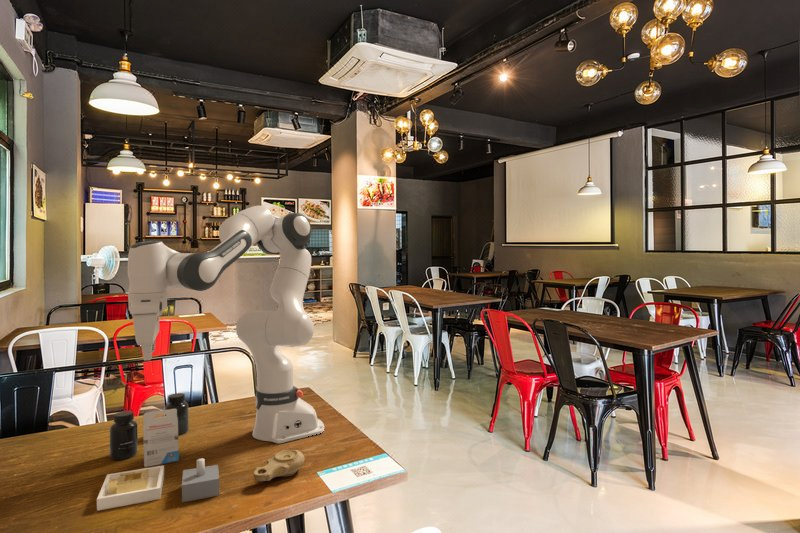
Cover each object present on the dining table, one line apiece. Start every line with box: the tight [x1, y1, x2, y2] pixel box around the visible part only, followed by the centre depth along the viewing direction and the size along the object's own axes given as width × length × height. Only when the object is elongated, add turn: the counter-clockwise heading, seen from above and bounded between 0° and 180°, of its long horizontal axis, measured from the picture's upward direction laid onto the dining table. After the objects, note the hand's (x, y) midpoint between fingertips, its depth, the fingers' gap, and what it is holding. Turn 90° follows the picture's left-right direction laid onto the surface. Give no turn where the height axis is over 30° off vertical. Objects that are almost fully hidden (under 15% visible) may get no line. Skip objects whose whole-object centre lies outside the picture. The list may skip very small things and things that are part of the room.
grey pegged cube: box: [181, 457, 220, 503], centre depth 112 cm, size 8×8×8 cm
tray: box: [96, 464, 165, 511], centre depth 111 cm, size 13×13×3 cm
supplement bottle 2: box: [164, 392, 190, 436], centre depth 148 cm, size 7×7×12 cm
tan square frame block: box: [109, 469, 149, 495], centre depth 111 cm, size 8×6×3 cm
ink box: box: [142, 409, 180, 468], centre depth 128 cm, size 9×5×15 cm, turn 117°
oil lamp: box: [252, 449, 305, 482], centre depth 119 cm, size 11×14×5 cm
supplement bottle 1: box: [109, 410, 139, 461], centre depth 131 cm, size 7×7×12 cm
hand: (149, 355), depth 121 cm, fingers open, 8 cm apart
